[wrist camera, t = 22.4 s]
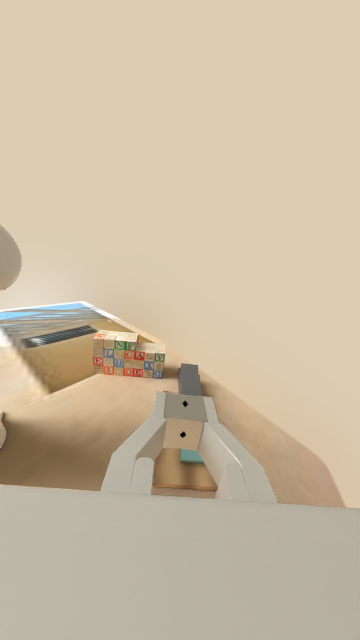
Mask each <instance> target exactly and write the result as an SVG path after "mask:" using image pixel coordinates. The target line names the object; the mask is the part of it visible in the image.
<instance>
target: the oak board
mask: <svg viewBox="0 0 360 640" xmlns="http://www.w3.org/2000/svg"><path fill="white" fill-rule="evenodd" d="M163 392H165V393H166V392H168V391H163ZM168 393H175V394H179V393H178V392H168ZM202 396H205V397H212V396H206V395H202ZM180 458H181V449H177V448H163V449H162V450H161V452H160V454H159V455H158V457H157V460H156V470H155V480H154V486H155V487H169V488H183V489H197V490H211V491H217V489H218V486H217V484H216V482H215V481H214V479H213V477H212V476H211V474H210V472H209V470H208V469H207V467H206V465H205V464H200V463H187V462H180Z"/></svg>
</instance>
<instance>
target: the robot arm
mask: <svg viewBox="0 0 360 640" xmlns="http://www.w3.org/2000/svg"><path fill="white" fill-rule="evenodd" d="M20 270H21V255H20V251H19V249H18V246H17V244H16V243H15V241H14V239H13V238H12V237H11V235H10V234H9V233H8V232H7V231H6V230H5V229H4V228H3V227H2V226H1V225H0V290H5V289H7V288H8V287H9V286H11V285H12V284H13V283H14V281H15V280H16V279H17V277H18V275H19V273H20ZM2 416H3V412H2V410H1V409H0V449H1V447H2V446H3V444H4V441H5V438H6V429H5V427H4V425H3V424H2V422H1V420H2ZM163 448H177V449H187V450H196V451H198V453H199V455H200V457H201V458H202V460H203V462H204V464H205V465H206V467H207V469H208V470H209V472H210V474H211V476H212V477H213V479H214V481H215V482H216V484H217V486H218V489H217V492H216V495H215V498H214V499H209V498H194V497H179V496H164V495H151V488H152V478H153V468H154V461H155V460H156V458H157V457H158V455H159V454H160V452H161V450H162V449H163ZM0 640H360V509H357V508H343V507H328V506H313V505H298V504H284V503H278V502H277V499H276V497H275V494H274V492H273V490H272V487H271V485H270V482H269V480H268V477H267V475H266V473H265V470H264V468H263V466H262V465H261V464H260V463H259V462H258V461H257V460H256V459H255V457H254V456H253V455H252V454H251V453H250V452H249V451H248V450H247V449H246V448H245V447H244V446H243V445H242V444H241V443H240V442H239V441H238V440H237V439H236V437H235V436H234V435H233V434H232V433H231V432H230V431H229V430H228V429H227V428H226V427H225V426H224V425H223V424H221V423H219V420H218V416H217V412H216V408H215V405H214V401H213V398H212V397H205V396H193V395H183V394H175V393H168V392H166V393H165V392H158V391H156V394H155V401H154V408H153V414H152V417H148V418H147V419H146V420H145V421H144V422H143V423H142V424H141V425H140V426H139V427H138V428H137V429H136V430H135V431H134V432H133V433H132V434H131V435H130V436H129V437H128V438H127V439H126V440H125V441H124V442H123V443H122V444H121V445H120V446H119V447H118V448H117V449H116V450H115V451H114V452H113V453H112V456H111V459H110V462H109V465H108V468H107V471H106V474H105V477H104V480H103V483H102V486H101V489H100V491H90V490H76V489H61V488H46V487H31V486H17V485H2V484H0Z"/></svg>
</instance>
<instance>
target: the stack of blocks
mask: <svg viewBox="0 0 360 640" xmlns="http://www.w3.org/2000/svg"><path fill="white" fill-rule="evenodd" d="M138 335H139V334H136V333H126V332H114V331H106V330H100V331H99V332H98V333H97V334H96V335H95V336H94V337H93V364H94V365H93V371H94V373H98V374H108V375H119V376H137V377H148V378H160V379H162V374H163V368H164V359H165V345H164V344H155V343H144V342H138Z"/></svg>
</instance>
